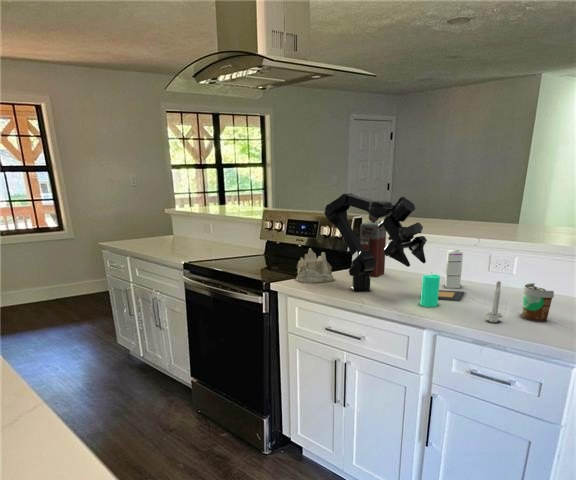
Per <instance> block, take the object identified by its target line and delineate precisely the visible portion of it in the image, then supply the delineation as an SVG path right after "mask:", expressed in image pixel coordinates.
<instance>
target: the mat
mask: <svg viewBox="0 0 576 480" xmlns="http://www.w3.org/2000/svg"><path fill="white" fill-rule="evenodd" d="M464 294H465V291H458V290H443V289H439V294H438V301H440V300H441V301H454V302H460V301H461V299H462V297H463V295H464Z"/></svg>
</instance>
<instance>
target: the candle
mask: <svg viewBox="0 0 576 480" xmlns="http://www.w3.org/2000/svg"><path fill="white" fill-rule="evenodd" d="M440 280H441V275H439V274H433V271H431V273H430V274H428V275H427V274H424V275H422V279H421V291H420V306H422V307H426V308H435V307H437V306H438V304H439V299H438V294H439V290H440V284H441V283H440V282H441V281H440Z"/></svg>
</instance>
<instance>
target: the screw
mask: <svg viewBox="0 0 576 480" xmlns="http://www.w3.org/2000/svg"><path fill="white" fill-rule="evenodd" d="M495 283H496V284H495V285H496V286H495V289H494V294H493V295H494V296H493V300H492V301H493V302H492V308H491V312H488V313H486V315H485V316H486V317H487V318H488V322H490V323H499V319H501V318H503V314H502V313H499V306H500V299H501V296H500V295H501V285H502V282H501V281H500V280H498V281H496V282H495Z"/></svg>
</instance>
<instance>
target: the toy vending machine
mask: <svg viewBox="0 0 576 480" xmlns="http://www.w3.org/2000/svg"><path fill="white" fill-rule="evenodd" d="M379 219H380V218H375V217H373V216H371V215H370V214H369V213H368V220H369V221H366V222H362V223H361V224H360V230H359V231H360V232H359V242H360V244H361V246H362V247H363V249H364V250H370V251H371V252H372V255H373V256H374V257H375V258H374V259H375V262H376V264H375V267H374V269H373V272H372V274H369V278H370V277H371V278H379V277H381V276H383V275H385V267H386V255H385V254H384V248H385V247H386V246H387V231H386V230H385V228H382V229H379V228H378V226H379V222H380V221H378V220H379Z"/></svg>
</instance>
